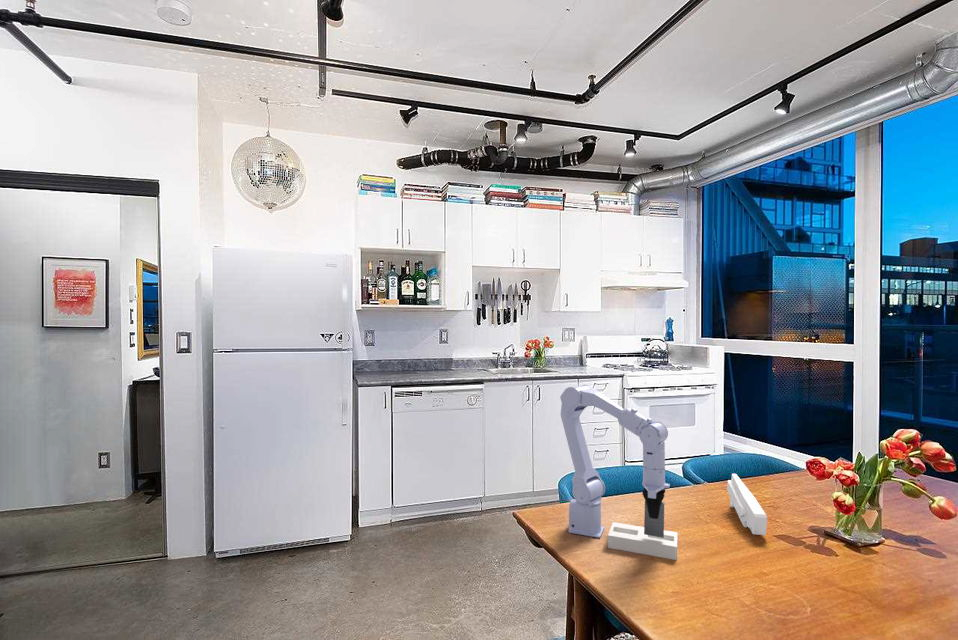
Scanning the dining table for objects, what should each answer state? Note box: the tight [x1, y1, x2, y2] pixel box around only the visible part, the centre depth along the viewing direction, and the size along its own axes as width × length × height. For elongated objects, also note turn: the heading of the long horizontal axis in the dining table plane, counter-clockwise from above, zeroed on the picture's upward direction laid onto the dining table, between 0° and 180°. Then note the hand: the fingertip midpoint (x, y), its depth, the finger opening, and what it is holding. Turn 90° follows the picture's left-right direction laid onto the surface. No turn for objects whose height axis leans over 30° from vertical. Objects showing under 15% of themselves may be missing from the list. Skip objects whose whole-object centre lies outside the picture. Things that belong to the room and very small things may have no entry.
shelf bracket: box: [726, 473, 768, 536], centre depth 154 cm, size 6×25×13 cm, turn 169°
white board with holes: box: [607, 521, 679, 561], centre depth 136 cm, size 18×10×4 cm, turn 67°
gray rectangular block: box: [643, 500, 666, 538], centre depth 133 cm, size 5×2×9 cm, turn 66°
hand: (654, 516), depth 133 cm, fingers closed on gray rectangular block, 2 cm apart
